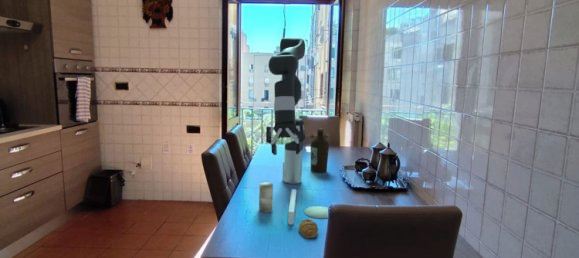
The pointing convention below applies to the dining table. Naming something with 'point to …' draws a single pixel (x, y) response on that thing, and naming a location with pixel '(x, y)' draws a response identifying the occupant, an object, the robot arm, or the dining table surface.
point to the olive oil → (319, 153)
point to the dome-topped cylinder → (265, 197)
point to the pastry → (308, 228)
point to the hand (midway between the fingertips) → (286, 154)
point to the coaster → (317, 212)
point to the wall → (292, 207)
